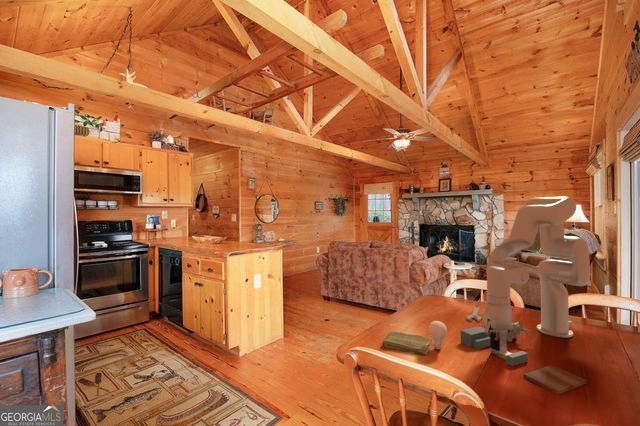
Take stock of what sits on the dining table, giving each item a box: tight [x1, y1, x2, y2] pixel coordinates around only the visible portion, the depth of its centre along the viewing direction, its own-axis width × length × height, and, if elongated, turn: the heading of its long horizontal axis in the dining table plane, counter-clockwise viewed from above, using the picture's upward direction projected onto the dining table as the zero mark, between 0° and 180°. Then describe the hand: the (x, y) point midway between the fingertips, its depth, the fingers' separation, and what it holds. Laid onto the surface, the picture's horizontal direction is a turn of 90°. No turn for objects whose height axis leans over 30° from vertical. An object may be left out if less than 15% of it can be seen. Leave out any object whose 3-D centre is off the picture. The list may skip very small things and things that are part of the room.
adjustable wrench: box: [466, 304, 483, 323], centre depth 155 cm, size 25×6×2 cm, turn 144°
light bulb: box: [428, 320, 448, 350], centre depth 117 cm, size 7×7×11 cm
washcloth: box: [382, 331, 432, 356], centre depth 121 cm, size 13×18×3 cm
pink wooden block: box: [490, 330, 513, 361], centre depth 112 cm, size 4×6×10 cm, turn 22°
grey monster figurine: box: [507, 321, 531, 343], centre depth 125 cm, size 9×12×8 cm
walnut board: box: [523, 364, 588, 395], centre depth 95 cm, size 14×10×1 cm
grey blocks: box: [460, 325, 529, 367], centre depth 115 cm, size 10×21×5 cm, turn 22°
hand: (498, 347), depth 113 cm, fingers closed on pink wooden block, 3 cm apart
